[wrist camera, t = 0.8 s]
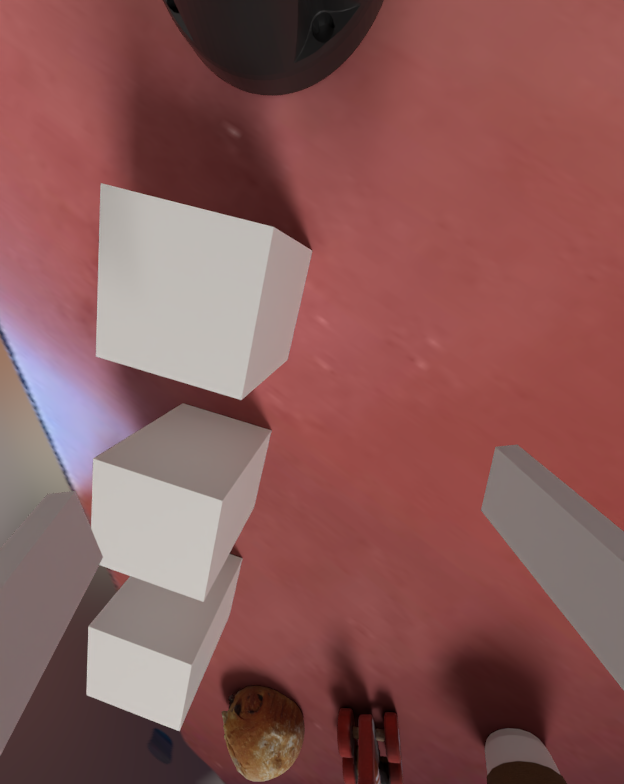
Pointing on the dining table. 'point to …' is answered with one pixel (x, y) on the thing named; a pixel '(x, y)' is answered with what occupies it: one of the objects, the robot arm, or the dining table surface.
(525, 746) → the coffee cup
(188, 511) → the tall off-white cuboid
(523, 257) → the dining table surface
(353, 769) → the toy fire truck
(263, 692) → the bread roll
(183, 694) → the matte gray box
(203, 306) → the matte white cube
